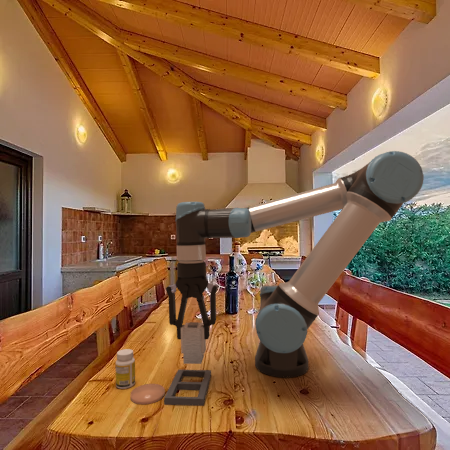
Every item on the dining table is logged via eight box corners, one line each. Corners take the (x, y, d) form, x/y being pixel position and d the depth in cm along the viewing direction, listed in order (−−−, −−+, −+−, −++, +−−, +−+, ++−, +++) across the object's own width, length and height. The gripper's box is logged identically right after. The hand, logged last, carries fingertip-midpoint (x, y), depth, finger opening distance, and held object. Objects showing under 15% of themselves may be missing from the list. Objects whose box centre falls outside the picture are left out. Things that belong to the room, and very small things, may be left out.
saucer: (168, 387, 79) (168, 384, 79) (159, 404, 71) (159, 401, 71) (137, 386, 80) (137, 383, 80) (125, 403, 72) (125, 400, 72)
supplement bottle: (128, 378, 84) (128, 346, 85) (138, 383, 81) (138, 351, 82) (111, 385, 81) (111, 352, 81) (122, 391, 78) (122, 357, 78)
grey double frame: (211, 375, 85) (211, 370, 85) (203, 405, 71) (203, 399, 71) (178, 375, 86) (178, 369, 86) (164, 404, 72) (164, 397, 72)
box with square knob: (203, 356, 84) (202, 321, 84) (201, 363, 80) (200, 326, 80) (187, 356, 84) (186, 321, 85) (183, 363, 80) (182, 326, 80)
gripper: (226, 259, 85) (228, 346, 85) (162, 260, 87) (164, 346, 86) (223, 262, 78) (226, 357, 78) (154, 263, 79) (156, 357, 79)
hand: (193, 351), depth 82 cm, fingers closed on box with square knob, 4 cm apart
